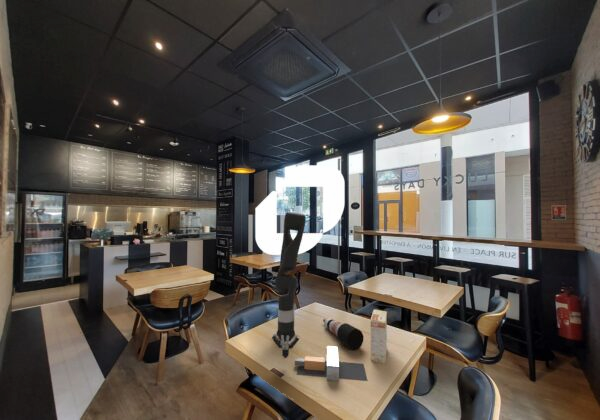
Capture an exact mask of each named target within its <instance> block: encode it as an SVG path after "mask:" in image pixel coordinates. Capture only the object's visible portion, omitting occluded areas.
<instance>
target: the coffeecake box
mask: <svg viewBox="0 0 600 420" xmlns="http://www.w3.org/2000/svg"><path fill="white" fill-rule="evenodd" d="M387 315H388V311H384V310H379V309H373V311H372V315H371V317H370V361H373V362H375V363H380V364H384V365H385V364H386V361H387V352H388V351H387V349H388V347H387V346H388V345H387V340H388V339H387V338H388V334H387V332H388V330H387V328H388V327H387V325H388V322H387V321H388V320H387V319H388V318H387V317H388V316H387Z"/></svg>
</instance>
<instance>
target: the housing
mask: <svg viewBox="0 0 600 420" xmlns="http://www.w3.org/2000/svg"><path fill="white" fill-rule="evenodd" d="M326 361H327V377H326V381H335V382H340V381H339V380H340V379H339V362H340V361H339V349H338V346H333V345H332V346H331V345H327V346H326Z"/></svg>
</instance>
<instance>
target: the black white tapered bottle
mask: <svg viewBox="0 0 600 420" xmlns="http://www.w3.org/2000/svg"><path fill="white" fill-rule="evenodd" d="M322 321H323V324H324V327H325V328H326V329H328V331H330V332H332V333H333V334H334V335H335V336H336V337H337V339H338V340H339V341H340V343H342V344H343V345H345V346H346V347H348V348H350V349H351V350H354V351H355V350H358V349H360V348H361V347H362V346H363V343H364V334H363V331H361V330H360V329H358V328H357V327H354V326H353V325H350V324H349V323H341V322H340V321H336V320H334V319H332V318H331V317H327V318H324V319H322Z"/></svg>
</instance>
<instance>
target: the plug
mask: <svg viewBox="0 0 600 420" xmlns="http://www.w3.org/2000/svg"><path fill="white" fill-rule="evenodd" d="M325 361H326V357H323V356H321V357H320V356H308V355H305V356H304V358H297V357H296V358H294V366H297V367H298V366H305V367H304V369H310V370H322V371H325Z"/></svg>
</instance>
